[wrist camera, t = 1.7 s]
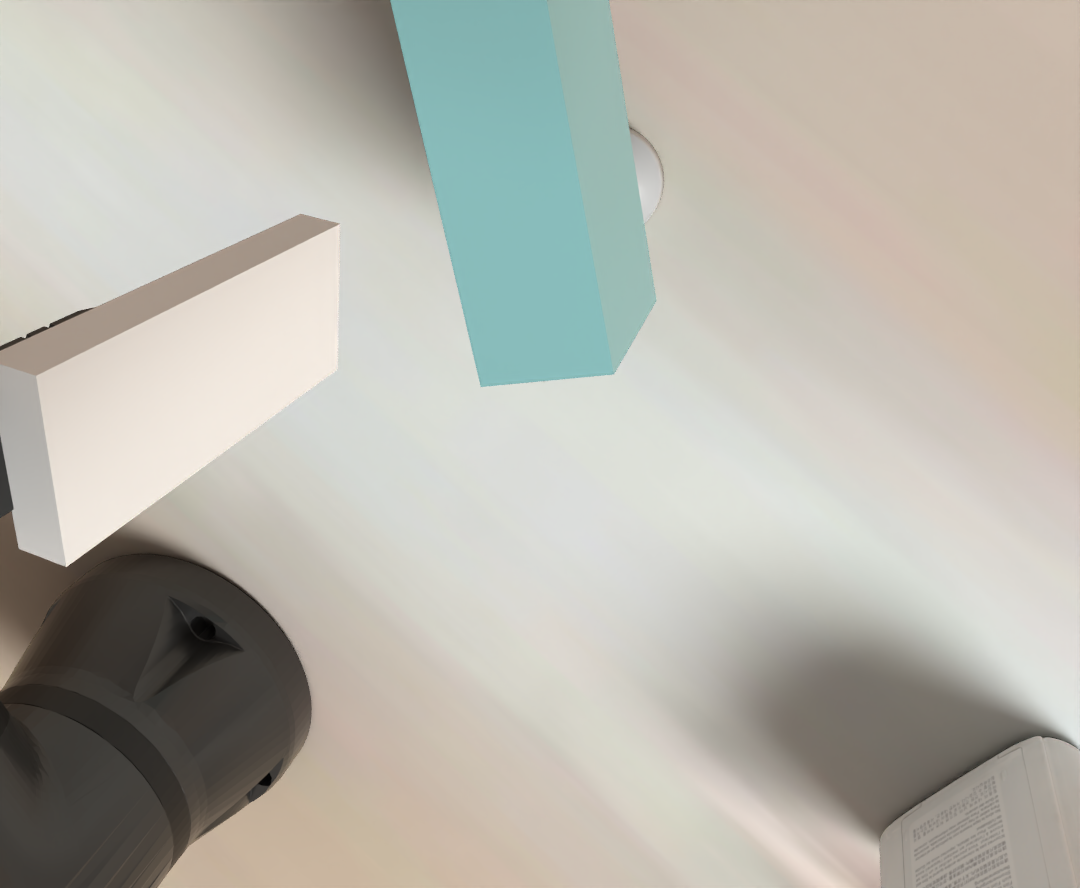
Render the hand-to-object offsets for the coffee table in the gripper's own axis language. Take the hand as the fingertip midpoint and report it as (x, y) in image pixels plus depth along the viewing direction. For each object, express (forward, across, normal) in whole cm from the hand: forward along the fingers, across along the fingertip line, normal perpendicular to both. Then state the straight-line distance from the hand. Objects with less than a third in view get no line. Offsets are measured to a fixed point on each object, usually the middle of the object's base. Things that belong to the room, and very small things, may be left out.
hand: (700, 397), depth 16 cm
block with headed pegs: (+22, +9, -1) cm, 24 cm away
